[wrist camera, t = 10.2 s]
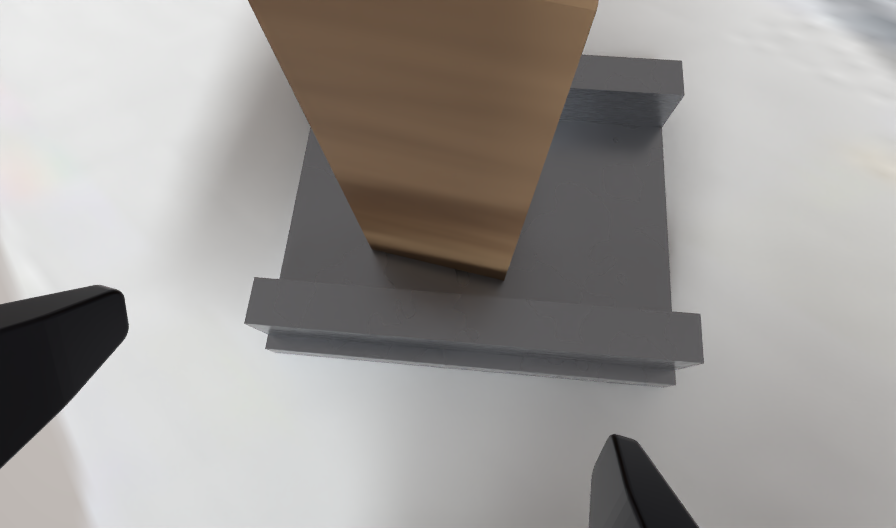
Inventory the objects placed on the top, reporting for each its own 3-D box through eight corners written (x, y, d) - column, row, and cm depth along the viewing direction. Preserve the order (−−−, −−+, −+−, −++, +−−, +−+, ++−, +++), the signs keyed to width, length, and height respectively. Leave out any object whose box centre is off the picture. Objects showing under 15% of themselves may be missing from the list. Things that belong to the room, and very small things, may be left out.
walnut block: (503, 280, 17) (596, 10, 6) (371, 249, 18) (218, -60, 6) (531, 161, 19) (647, -240, 7) (408, 134, 19) (338, -282, 8)
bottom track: (663, 387, 17) (705, 380, 14) (275, 352, 18) (240, 339, 15) (650, 100, 21) (680, 49, 18) (329, 80, 21) (309, 28, 18)
